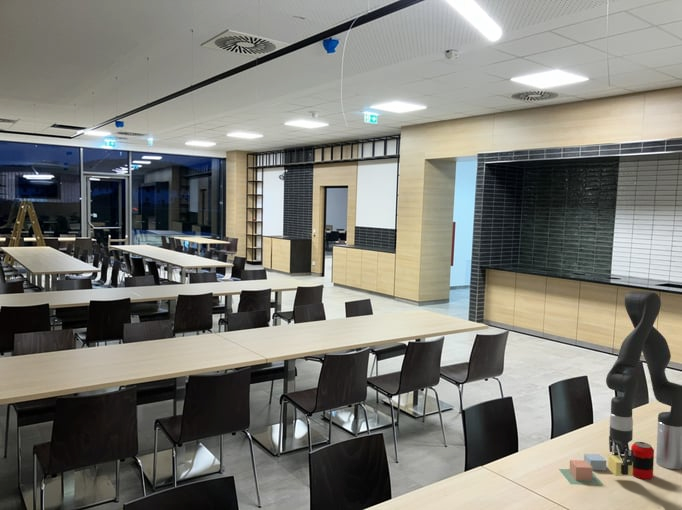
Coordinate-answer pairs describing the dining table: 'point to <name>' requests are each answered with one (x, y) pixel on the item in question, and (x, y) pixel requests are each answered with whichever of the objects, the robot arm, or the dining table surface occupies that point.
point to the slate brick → (595, 461)
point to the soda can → (643, 460)
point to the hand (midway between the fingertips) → (620, 469)
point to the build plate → (572, 481)
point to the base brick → (581, 470)
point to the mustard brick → (618, 465)
